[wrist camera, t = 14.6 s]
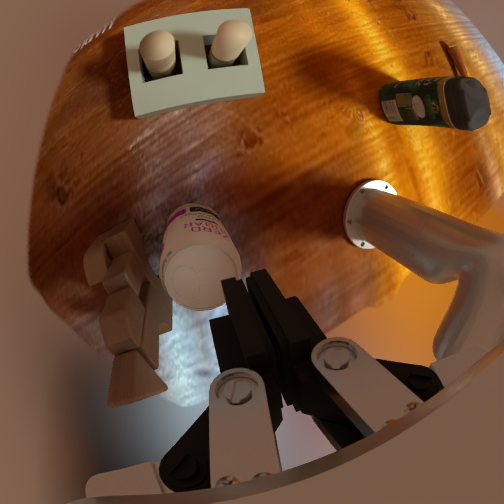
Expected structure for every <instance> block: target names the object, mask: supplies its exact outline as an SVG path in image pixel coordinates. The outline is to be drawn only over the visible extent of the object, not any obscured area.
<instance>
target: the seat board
mask: <svg viewBox="0 0 504 504" xmlns="http://www.w3.org/2000/svg"><path fill="white" fill-rule="evenodd" d="M157 30H163V31H167V32H169V33H170V34H171V35H172V36H173V37H174V41H175V50H178V51H179V58H180V65H181V71H182V74H180V75H175V76H170V77H166V78H161V79H157V80H153V81H149V82H145V77H144V70H143V62H142V55H141V53H140V51H139V45H140V42H141V40H142V39H143V37H144V36H146V35H147V34H148V33H150V32H153V31H157ZM124 35H125V47H126V57H127V66H128V74H129V81H130V89H131V95H132V102H133V108H134V114H135V117H136V118H138V119H143V118H147V117H150V116H154V115H158V114H162V113H166V112H171V111H175V110H179V109H184V108H189V107H194V106H199V105H204V104H210V103H216V102H222V101H229V100H236V99H244V98H253V97H258V96H259V95H261V94H263V93H265V89H264V83H263V77H262V72H261V66H260V60H259V55H258V50H257V44H256V39H255V34H254V29H253V24H252V19H251V14H250V10H249V8H241V9H223V10H212V11H202V12H195V13H188V14H181V15H175V16H170V17H165V18H160V19H155V20H151V21H147V22H143V23H139V24H135V25H132V26H128V27H125V28H124ZM211 44H212V45H211ZM204 45H211V48H210V52H209V55H208V63H209V64H210V66H211V67H213V68H214V69H208V66H207V60H206V54H205V47H204ZM238 56H239V60H240V66H231V65H232V64H233V63H234V61H235V60H236V59H237V58H238ZM230 66H231V67H230Z"/></svg>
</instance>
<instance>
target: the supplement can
mask: <svg viewBox="0 0 504 504" xmlns="http://www.w3.org/2000/svg"><path fill="white" fill-rule="evenodd" d="M241 273H242V265H241V260H240V255H239V253H238V251H237V250H236V248H235V246H234V244H233V242H232V240H231V238H230V236H229V234H228V232H227V230H226V229H225V227H224V225H223V223H222V221H221V219H220V218H219V216H218V214H217V213H216V211H214V210H213V209H212V208H210V207H209V206H207V205H204V204H200V203H187V204H185V205H183V206H180V207H178V208H177V209H176V210H175V211H174V212H173V213H171V214H170V216H169V218H168V220H167V222H166V225H165V231H164V237H163V243H162V250H161V257H160V266H159V277H160V280H161V283H162V286H163V289H164V290H165V291H166V292H167V293H168V294H169V296H170V297H171V298H172V299H173V300H174V301H175V302H176V303H177V304H179V305H181V306H183V307H185V308H186V309H191V310H196V311H204V310H212V309H214V308H216V307H219V306H221V305H223V304H224V303H225V302H226V301H225V297H224V293H223V289H222V285H221V280H224V279H228V278H232V277H235V278H236V280H240V278H241Z"/></svg>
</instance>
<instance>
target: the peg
mask: <svg viewBox="0 0 504 504" xmlns="http://www.w3.org/2000/svg"><path fill="white" fill-rule="evenodd" d="M139 51H140V53H141V55H142V58H143V60H144V62H145V65H146V68H147V69H148V71H149V73H150V75H151V77H152V78H153V79H155V80H157V79H161V78H166V77H170V76H173V74H174V73H175V70H176V56H175V41H174V37H173V36H172V35H171V34H170V33H169V32H167V31H163V30H157V31H153V32H150V33H148V34H147V35H146V36H144V37H143V39H142V40H141V42H140V45H139Z"/></svg>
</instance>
